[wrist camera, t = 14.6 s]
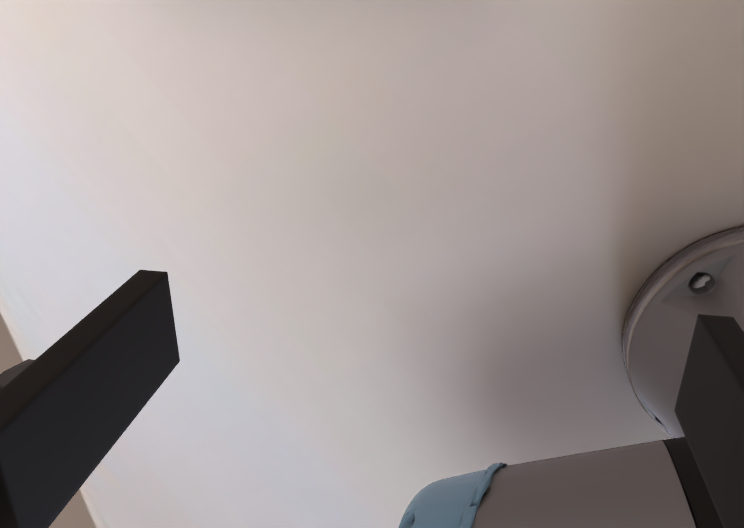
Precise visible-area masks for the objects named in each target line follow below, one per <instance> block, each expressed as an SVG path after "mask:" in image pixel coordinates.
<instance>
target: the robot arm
mask: <svg viewBox="0 0 744 528" xmlns="http://www.w3.org/2000/svg"><path fill="white" fill-rule="evenodd" d="M622 353H623V360H624V364H625V368H626V371H627V374H628V377H629V379H630V382H631V385H632V388H633V391H634V393H635V395H636V397H637V399H638V401H639V402H640V404H641V405H642V407H643V408H644V409H645V411H646V412H647V413H648V414H649V415H650V416H651V417H652V418H653V419H654V420H655V421H656V422H657V423H658V424H659V425H660V426H661V427H662V428H663V429H665V430H666V431H667V432H668V433H670V434H671V435H672V436H674V437H675V438H673V439H668V440H659V441H653V442H647V443H641V444H635V445H629V446H623V447H617V448H611V449H605V450H599V451H593V452H587V453H581V454H575V455H569V456H563V457H557V458H551V459H545V460H539V461H533V462H527V463H521V464H515V465H509V466H508V465H507V464H503V463H496V464H493V465H491V466H490V467H489V468H488V469H487V470H482V471H478V472H473V473H469V474H464V475H460V476H455V477H451V478H446V479H442V480H439V481H436V482H433V483H431V484H430V485H428V486H426V487H425V488H423V489H422V490H421V491H420V492H419V493H418V494H417V495H416V496H415V497H414V498H413V500H412V501H411V503H410V504H409V506H408V507H407V509H406V511H405V513H404V515H403V517H402V520H401V522H400V525H399V528H744V226H742V227H738V228H734V229H730V230H727V231H723V232H720V233H717V234H715V235H712V236H710V237H707V238H705V239H702V240H700V241H698V242H696V243H694V244H692V245H690V246H689V247H687V248H685V249H684V250H682V251H681V252H679V253H678V254H676V255H675V256H673V257H672V258H671V259H669V260H668V261H667V262H666V263H664V264H663V265H662V266H661V267H660V268H659V269H658V270H657V271H656V272H655V273H654V274H653V275H652V276H651V277H650V278H649V279H648V280H647V282H646V283H645V284H644V285H643V287H642V288H641V289H640V291H639V292H638V294H637V296H636V297H635V299H634V301H633V303H632V305H631V307H630V309H629V312H628V314H627V317H626V320H625V324H624V328H623V335H622ZM179 361H180V359H179V352H178V345H177V338H176V331H175V324H174V317H173V310H172V302H171V295H170V288H169V281H168V274H167V272H160V271H147V270H139V271H138V272H137V273H136V274H135V275H133V276H132V277H131V278H130V279H129V280H128V281H126V282H125V283H124V284H123V285H122V286H121V287H120V288H118V289H117V290H116V291H115V292H114V293H113V294H111V295H110V296H109V297H108V298H107V299H106V300H104V301H103V302H102V303H101V304H100V305H99V306H97V307H96V308H95V309H94V310H93V311H92V312H91V313H89V314H88V315H87V316H86V317H85V318H84V319H82V320H81V321H80V322H79V323H78V324H77V325H75V326H74V327H73V328H72V329H71V330H70V331H68V332H67V333H66V334H65V335H64V336H63V337H61V338H60V339H59V340H58V341H57V342H56V343H55V344H53V345H52V346H51V347H50V348H49V349H48V350H46V351H45V352H44V353H43V354H42V355H41V356H39V357H38V358H37V359H36V360H30V359H28V360H26V361H24V362H22V363H20V364H18V365H16V366H14V367H12V368H10V369H8V370H6V371H4V372H3V373H2V374H0V528H48V527H49V526H50V525H51V524H52V522H53V521H54V520H55V519H56V517H57V516H58V515H59V514H60V512H61V511H62V510H63V508H64V507H65V506H66V505H67V503H68V502H69V501H70V499H71V498H72V497H73V496H74V495H75V493H76V492H77V491H78V489H79V488H80V487H81V486H82V484H83V483H84V482H85V481H86V479H87V478H88V477H89V475H90V474H91V473H92V472H93V470H94V469H95V468H96V467H97V465H98V464H99V463H100V462H101V460H102V459H103V458H104V456H105V455H106V454H107V453H108V451H109V450H110V449H111V448H112V446H113V445H114V444H115V443H116V441H117V440H118V439H119V437H120V436H121V435H122V434H123V432H124V431H125V430H126V429H127V427H128V426H129V425H130V423H131V422H132V421H133V420H134V418H135V417H136V416H137V415H138V413H139V412H140V411H141V410H142V408H143V407H144V406H145V404H146V403H147V402H148V401H149V399H150V398H151V397H152V396H153V394H154V393H155V392H156V391H157V389H158V388H159V387H160V385H161V384H162V383H163V382H164V380H165V379H166V378H167V377H168V375H169V374H170V373H171V371H172V370H173V369H174V368H175V366H176V365H177V364H178V363H179Z"/></svg>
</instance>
